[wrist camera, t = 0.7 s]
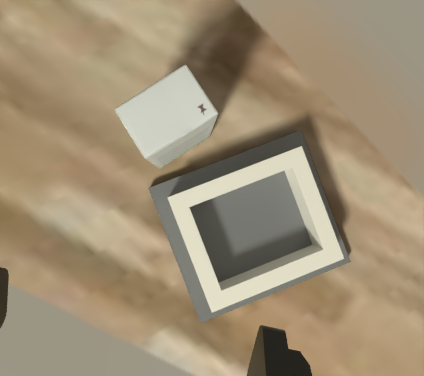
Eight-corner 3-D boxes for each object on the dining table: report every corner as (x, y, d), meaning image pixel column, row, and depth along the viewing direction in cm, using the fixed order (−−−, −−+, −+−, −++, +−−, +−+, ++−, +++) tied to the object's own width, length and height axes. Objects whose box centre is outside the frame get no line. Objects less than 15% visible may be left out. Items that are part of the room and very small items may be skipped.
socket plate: (149, 188, 38) (145, 187, 34) (297, 131, 39) (310, 124, 35) (200, 319, 38) (202, 334, 34) (346, 259, 39) (364, 267, 35)
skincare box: (187, 101, 38) (188, 60, 26) (210, 137, 38) (221, 114, 26) (135, 134, 38) (111, 107, 26) (158, 170, 38) (146, 161, 26)
